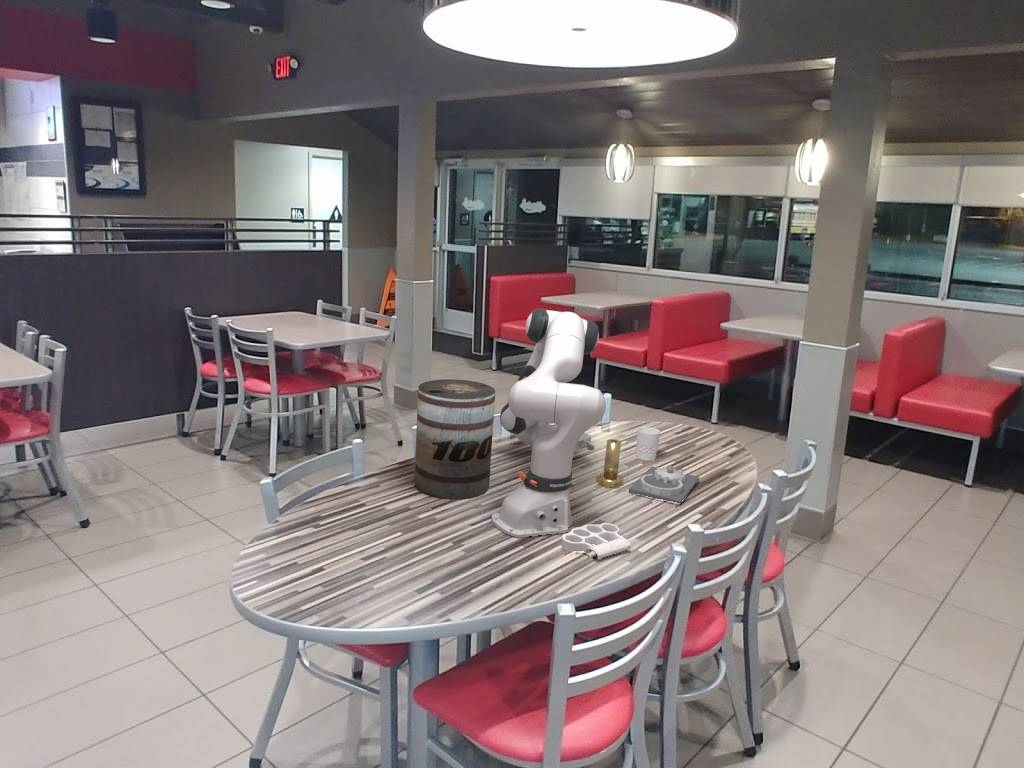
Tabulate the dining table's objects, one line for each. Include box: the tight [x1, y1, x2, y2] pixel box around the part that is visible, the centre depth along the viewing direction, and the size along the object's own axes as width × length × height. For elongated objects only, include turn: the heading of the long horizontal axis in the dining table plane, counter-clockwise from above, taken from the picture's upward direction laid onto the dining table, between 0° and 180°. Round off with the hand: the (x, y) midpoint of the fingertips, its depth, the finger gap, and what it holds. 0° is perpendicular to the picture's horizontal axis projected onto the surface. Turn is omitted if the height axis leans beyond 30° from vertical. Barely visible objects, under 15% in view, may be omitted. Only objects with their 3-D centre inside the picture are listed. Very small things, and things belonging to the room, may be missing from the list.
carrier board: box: [628, 465, 700, 503], centre depth 238 cm, size 24×16×6 cm, turn 153°
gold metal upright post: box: [595, 438, 625, 489], centre depth 236 cm, size 9×9×14 cm
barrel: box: [413, 378, 497, 501], centre depth 224 cm, size 22×22×30 cm
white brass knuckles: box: [560, 522, 632, 560], centre depth 195 cm, size 3×18×15 cm
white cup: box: [635, 426, 661, 462], centre depth 264 cm, size 8×8×10 cm
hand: (583, 450), depth 244 cm, fingers open, 8 cm apart
